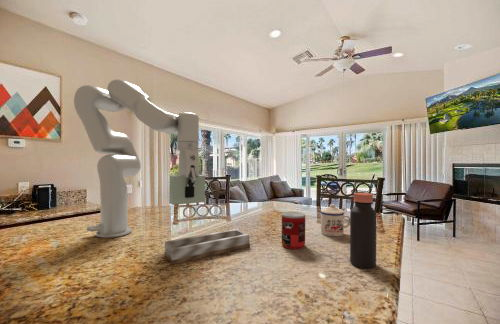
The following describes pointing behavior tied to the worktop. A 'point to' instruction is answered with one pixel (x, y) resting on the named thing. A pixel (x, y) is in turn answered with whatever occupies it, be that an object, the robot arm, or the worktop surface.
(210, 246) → the grey stone tray
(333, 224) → the teacup with lid
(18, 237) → the worktop surface
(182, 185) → the pale green block
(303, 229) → the canned food
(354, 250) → the bottle
